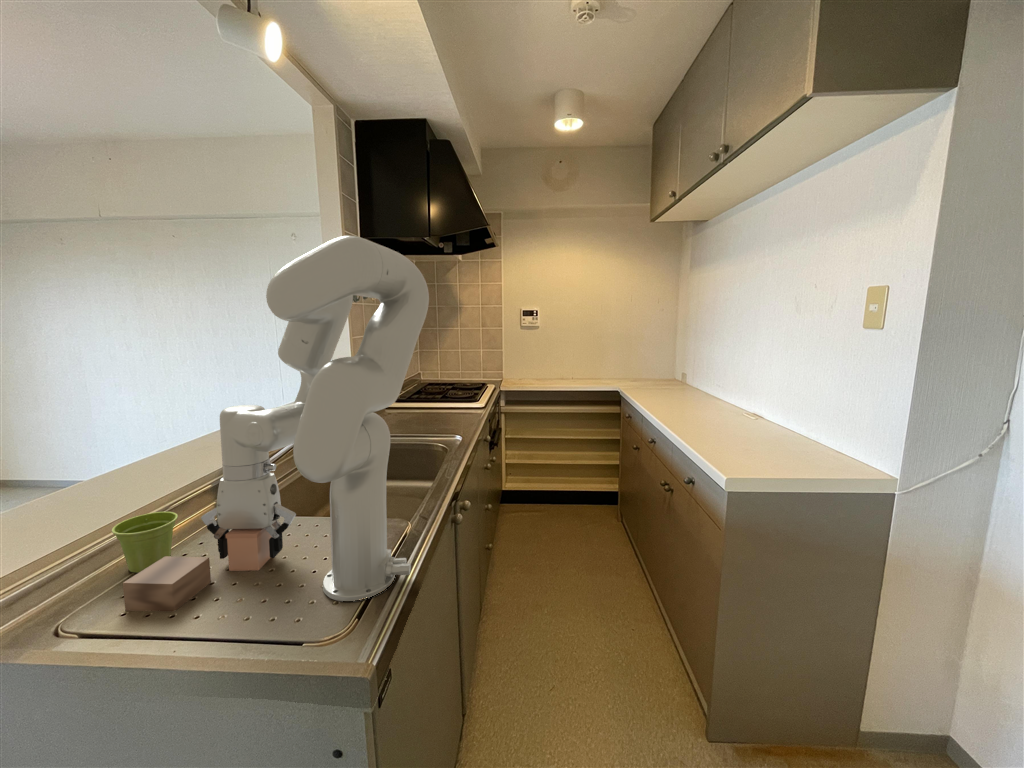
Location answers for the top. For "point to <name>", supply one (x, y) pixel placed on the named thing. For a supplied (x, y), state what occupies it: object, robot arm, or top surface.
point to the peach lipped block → (247, 549)
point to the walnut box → (167, 584)
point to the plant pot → (145, 538)
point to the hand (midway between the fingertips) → (251, 554)
